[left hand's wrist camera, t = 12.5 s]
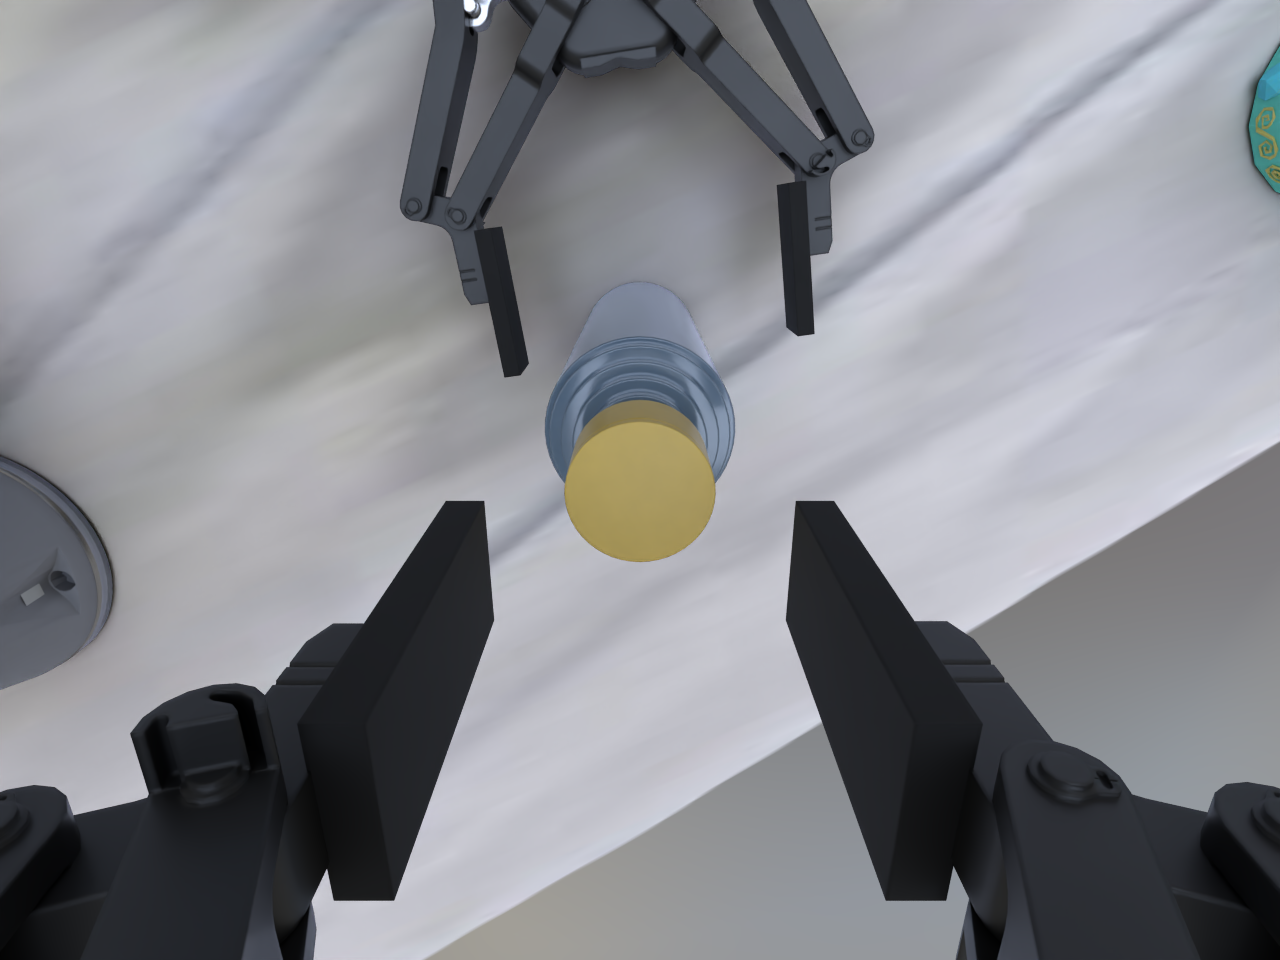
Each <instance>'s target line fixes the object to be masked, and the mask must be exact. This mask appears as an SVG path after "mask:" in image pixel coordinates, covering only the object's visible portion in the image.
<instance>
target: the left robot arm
mask: <svg viewBox="0 0 1280 960" xmlns="http://www.w3.org/2000/svg"><path fill="white" fill-rule="evenodd" d="M112 595H113V583H112V575H111V570H110V566H109V562H108V559H107V556H106V553H105V550H104V548H103V546H102V544H101V542H100V540H99V538H98V536H97V535H96V533H95V531H94V529H93V528H92V527H91V525H90V524H89V522H88V521H87V519H86V518H85V517H84V516H83V514H82V513H81V512H80V511H79V510H78V508H77V507H76V506H75V505H74V504H73V503H72V502H71V501H70V500H69V499H68V498H67V497H66V496H65V495H63V494H62V493H61V492H60V491H59V490H58V489H57V488H55V487H54V486H53V485H51V484H50V483H49V482H48V481H46V480H45V479H43V478H42V477H40V476H39V475H37V474H36V473H34V472H32V471H30V470H29V469H27V468H25V467H23V466H21V465H19V464H17V463H15V462H13V461H11V460H8V459H6V458H3V457H0V690H1V689H4V688H7V687H9V686H12V685H15V684H18V683H20V682H23V681H26V680H28V679H31V678H34V677H37V676H39V675H42V674H44V673H46V672H48V671H50V670H51V669H53V668H55V667H57V666H58V665H60V664H62V663H64V662H65V661H67V660H69V659H70V658H71V657H72V656H74V655H75V654H76V653H78V652H79V651H80V650H81V649H83V648H84V647H85V646H86V645H88V644H89V643H90V642H91V641H92V640H93V639H94V638H95V637H96V636H97V634H98V633H99V632H100V630H101V629H102V627H103V625H104V624H105V622H106V620H107V617H108V614H109V612H110V608H111V603H112ZM493 622H494V613H493V601H492V589H491V577H490V565H489V553H488V541H487V529H486V517H485V505H484V501H446V502H445V503H444V505H443V506H442V508H441V509H440V511H439V512H438V514H437V515H436V517H435V518H434V520H433V521H432V523H431V524H430V526H429V527H428V529H427V530H426V532H425V533H424V535H423V536H422V538H421V539H420V541H419V542H418V544H417V545H416V547H415V548H414V550H413V551H412V553H411V554H410V556H409V557H408V559H407V560H406V562H405V563H404V565H403V566H402V568H401V569H400V571H399V572H398V574H397V575H396V576H395V578H394V579H393V581H392V582H391V584H390V585H389V587H388V588H387V590H386V591H385V593H384V594H383V596H382V597H381V599H380V600H379V602H378V603H377V605H376V606H375V608H374V609H373V611H372V612H371V614H370V615H369V617H368V618H367V620H366V621H365V623H364V624H332V625H330V626H329V627H327V628H326V629H324V630H323V631H321V632H320V633H319V634H317V635H316V636H314V637H313V638H311V639H310V640H308V641H307V642H306V643H305V644H304V645H303V647H302V648H301V649H300V651H299V652H298V653H297V654H296V656H295V657H294V658H293V660H292V661H291V662H290V667H286V669H285V670H284V671H283V672H282V674H281V675H280V676H279V678H278V679H277V680H276V685H272V687H271V688H270V689H269V691H268V692H267V693H266V694H265V695H264V694H263V693H262V692H260V691H259V690H258V689H257V688H255V687H252V686H248V685H243V684H238V683H234V684H219V685H211V686H208V687H204V688H200V689H196V690H193V691H189V692H186V693H184V694H182V695H180V696H178V697H175V698H173V699H171V700H169V701H167V702H164V703H163V704H161V705H160V706H158V707H157V708H156V709H154V710H153V711H151V712H150V713H149V714H147V715H146V716H144V717H143V718H142V719H141V721H140V722H139V723H138V724H137V726H136V727H135V728H134V729H133V731H132V732H131V733H130V734H131V738H132V741H133V744H134V747H135V750H136V754H137V757H138V760H139V763H140V767H141V770H142V773H143V776H144V779H145V783H146V786H147V789H148V792H149V795H148V798H145V799H141V800H138V801H135V802H130V803H126V804H122V805H117V806H113V807H108V808H104V809H100V810H95V811H91V812H86V813H82V814H78V815H73V813H72V810H71V808H70V805H69V802H68V799H67V797H66V795H64V794H63V793H62V792H60V791H59V790H58V789H56V788H55V787H48V786H38V785H32V786H26V787H20V788H15V789H9V790H5V791H2V792H0V960H313V957H314V948H315V938H316V923H315V916H314V911H313V906H312V902H311V901H312V899H313V897H314V894H315V892H316V890H317V888H318V886H319V884H320V882H321V880H322V878H323V876H324V873H325V871H326V869H327V870H328V875H329V880H330V885H331V889H332V894H333V899H334V901H394V900H395V897H396V894H397V891H398V888H399V886H400V883H401V880H402V877H403V874H404V872H405V869H406V866H407V863H408V860H409V857H410V855H411V852H412V849H413V846H414V843H415V841H416V838H417V835H418V832H419V829H420V827H421V824H422V821H423V818H424V815H425V813H426V810H427V807H428V804H429V801H430V799H431V796H432V793H433V790H434V787H435V785H436V782H437V779H438V776H439V773H440V771H441V768H442V765H443V762H444V759H445V756H446V754H447V751H448V748H449V745H450V742H451V740H452V737H453V734H454V731H455V728H456V726H457V723H458V720H459V717H460V714H461V712H462V709H463V706H464V703H465V700H466V698H467V695H468V692H469V689H470V686H471V684H472V681H473V678H474V675H475V672H476V670H477V667H478V664H479V661H480V658H481V655H482V653H483V650H484V647H485V644H486V641H487V639H488V636H489V633H490V630H491V627H492V625H493ZM786 622H787V625H788V627H789V630H790V633H791V636H792V639H793V641H794V644H795V647H796V650H797V653H798V656H799V658H800V661H801V664H802V667H803V670H804V672H805V675H806V678H807V681H808V684H809V686H810V689H811V692H812V695H813V698H814V700H815V703H816V706H817V709H818V712H819V714H820V717H821V720H822V723H823V726H824V728H825V731H826V734H827V737H828V740H829V742H830V745H831V748H832V751H833V754H834V756H835V759H836V762H837V765H838V768H839V770H840V773H841V776H842V779H843V781H844V784H845V787H846V790H847V793H848V796H849V799H850V801H851V804H852V807H853V810H854V813H855V815H856V818H857V821H858V824H859V826H860V829H861V832H862V835H863V838H864V841H865V843H866V846H867V849H868V852H869V855H870V857H871V860H872V863H873V866H874V869H875V872H876V874H877V877H878V880H879V883H880V886H881V888H882V891H883V894H884V897H885V900H886V901H946V899H947V894H948V889H949V884H950V880H951V875H952V870H953V866H954V868H955V870H956V872H957V874H958V876H959V878H960V880H961V882H962V884H963V887H964V889H965V891H966V893H967V895H968V897H969V902H968V906H967V911H966V915H965V919H964V924H963V929H962V933H961V938H960V942H959V946H958V951H957V955H956V960H1280V789H1279V788H1276V787H1273V786H1267V785H1261V784H1255V783H1250V782H1243V783H1233V784H1226V785H1225V786H1223V787H1222V788H1221V789H1219V790H1218V791H1217V792H1215V794H1214V797H1213V799H1212V802H1211V805H1210V808H1209V810H1208V813H1207V812H1203V811H1199V810H1194V809H1190V808H1185V807H1181V806H1176V805H1172V804H1168V803H1163V802H1159V801H1154V800H1150V799H1145V798H1142V797H1139V796H1135V795H1132V794H1131V792H1130V791H1129V789H1128V788H1127V786H1126V785H1125V783H1124V782H1123V780H1122V779H1121V778H1120V776H1119V775H1118V774H1116V773H1115V772H1114V771H1113V770H1111V769H1110V768H1109V767H1108V766H1107V765H1105V764H1104V763H1103V762H1102V761H1100V760H1099V759H1097V758H1095V757H1093V756H1091V755H1089V754H1087V753H1085V752H1083V751H1081V750H1079V749H1077V748H1075V747H1071V746H1068V745H1065V744H1061V743H1058V742H1054V741H1053V740H1052V739H1051V737H1050V736H1049V735H1048V734H1047V732H1046V731H1045V730H1044V728H1043V727H1042V726H1041V725H1040V723H1039V722H1038V721H1037V719H1036V718H1035V717H1034V716H1033V714H1032V713H1031V712H1030V710H1029V709H1028V708H1027V707H1026V705H1025V704H1024V703H1023V702H1022V700H1021V699H1020V698H1019V696H1018V695H1017V694H1016V693H1015V691H1014V690H1013V689H1012V687H1011V686H1010V685H1009V684H1008V683H1005V681H1004V677H1003V676H1002V675H1001V673H1000V672H999V671H998V669H997V668H996V667H995V666H994V665H991V661H990V659H989V658H988V657H987V655H986V654H985V653H984V652H983V650H982V649H981V648H980V646H979V645H978V644H977V642H976V641H975V640H974V639H973V638H971V637H970V636H968V635H967V634H965V633H964V632H962V631H961V630H959V629H958V628H956V627H955V626H953V625H952V624H950V623H949V622H947V621H914V620H913V618H912V617H911V615H910V614H909V612H908V611H907V609H906V608H905V606H904V605H903V603H902V602H901V600H900V599H899V597H898V596H897V594H896V593H895V591H894V590H893V588H892V587H891V585H890V584H889V582H888V581H887V579H886V578H885V576H884V575H883V574H882V572H881V571H880V569H879V568H878V566H877V565H876V563H875V562H874V560H873V559H872V557H871V556H870V554H869V553H868V551H867V550H866V548H865V547H864V545H863V544H862V542H861V541H860V539H859V538H858V536H857V535H856V533H855V532H854V530H853V529H852V527H851V526H850V524H849V523H848V521H847V520H846V518H845V517H844V515H843V514H842V512H841V511H840V509H839V508H838V506H837V505H836V503H835V502H834V501H796V505H795V517H794V529H793V541H792V553H791V565H790V577H789V589H788V601H787V613H786Z"/></svg>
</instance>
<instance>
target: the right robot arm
mask: <svg viewBox="0 0 1280 960" xmlns="http://www.w3.org/2000/svg"><path fill="white" fill-rule="evenodd" d="M503 1H509V3H510V5H511V6H512V8H513V9H514V10H515V11H516V12H517V14H518V15H519V16H520V17H521V18H522V19H523V20H524V21H525V23H526V24H527V25H528V26H529V27H530V28H531V29H532V30H531V32H530V34H529V36H528V38H527V40H526V42H525V44H524V46H523V48H522V50H521V52H520V54H519V56H518V58H517V61H516V65H515V70H514V72H513V74H512V76H511V78H510V80H509V82H508V84H507V86H506V88H505V90H504V92H503V94H502V96H501V98H500V100H499V102H498V104H497V106H496V108H495V110H494V112H493V114H492V116H491V118H490V120H489V122H488V124H487V126H486V128H485V130H484V132H483V134H482V136H481V138H480V141H479V143H478V145H477V147H476V149H475V151H474V153H473V155H472V157H471V159H470V161H469V163H468V165H467V167H466V169H465V171H464V173H463V175H462V177H461V179H460V181H459V183H458V185H457V187H456V189H455V191H454V193H453V195H452V197H451V198H450V197H445V195H446V191H447V186H448V182H449V177H450V173H451V168H452V164H453V159H454V155H455V150H456V146H457V141H458V137H459V132H460V128H461V123H462V119H463V114H464V110H465V105H466V100H467V96H468V91H469V87H470V82H471V78H472V73H473V69H474V64H475V59H476V53H477V43H478V32H481V31H484V30H486V29H487V28H488V27H489V26H490V24H491V22H492V16H493V11H494V9H495V7H496V6H497V5H498V4H499V3H501V2H503ZM695 2H696V0H433V7H434V16H435V30H434V35H433V40H432V45H431V50H430V55H429V60H428V65H427V70H426V75H425V80H424V85H423V90H422V95H421V100H420V105H419V110H418V115H417V120H416V125H415V130H414V135H413V140H412V145H411V150H410V155H409V160H408V165H407V169H406V174H405V179H404V184H403V189H402V194H401V199H400V209H401V211H402V213H403V215H404V216H405V217H406V218H408V219H409V220H412V221H420V222H424V223H429V224H433V225H438V226H440V227H442V228H444V229H445V230H446V231H447V232H448V233H449V234H450V236H451V238H452V241H453V245H454V250H455V254H456V259H457V263H458V268H459V271H460V277H461V281H462V286H463V290H464V295H465V296H466V298H467V299H468V301H469V302H470V304H471V305H476V304H483V303H489V306H490V311H491V316H492V320H493V325H494V330H495V335H496V339H497V344H498V349H499V353H500V358H501V363H502V368H503V372H504V377H511V376H519V375H521V374H522V372H523V371H524V370H525V368H526V367H527V365H528V364H529V362H528V356H527V351H526V346H525V341H524V336H523V331H522V326H521V321H520V316H519V311H518V306H517V301H516V296H515V291H514V286H513V280H512V275H511V270H510V265H509V260H508V255H507V250H506V245H505V240H504V235H503V230H502V227H495V228H488V229H484V226H483V225H484V224H485V222H483V220H484V218H485V216H486V214H487V213H488V211H489V209H490V207H491V205H492V203H493V201H494V199H495V197H496V195H497V193H498V191H499V189H500V188H501V186H502V184H503V182H504V180H505V178H506V176H507V174H508V172H509V170H510V168H511V166H512V164H513V163H514V161H515V159H516V157H517V155H518V153H519V151H520V149H521V147H522V145H523V143H524V141H525V139H526V138H527V136H528V134H529V132H530V130H531V128H532V126H533V124H534V122H535V120H536V118H537V116H538V114H539V113H540V111H541V109H542V107H543V105H544V103H545V101H546V99H547V98H548V96H549V95H550V94H551V93H552V91H553V90H554V88H555V86H556V84H557V82H558V80H559V78H560V77H561V75H562V73H563V71H564V69H565V67H566V68H567V69H569V70H570V71H572V72H574V73H577V74H581V75H584V77H585V78H587V77H594V76H600V75H604V74H606V73H608V72H610V71H612V70H614V69H616V68H618V67H625V68H633V69H643V68H650V67H656V63H658V62H660V61H661V60H663V59H664V58H665V57H666V56H668V54H669V53H670V52H671V51H672V50H673V51H674V52H675V53H676V55H677V56H678V57H679V58H680V59H681V60H682V61H683V62H684V63H685V64H686V65H687V66H688V67H689V68H690V69H691V70H693V71H694V72H696V73H697V74H698V75H699V76H700V77H701V78H702V79H703V80H704V81H705V82H706V83H707V84H708V85H709V86H710V87H711V88H712V89H713V90H714V91H715V92H716V93H717V94H718V95H719V96H720V97H721V98H722V99H723V100H724V101H725V103H726V104H727V105H728V106H729V107H730V108H731V109H732V110H733V111H734V112H735V113H736V114H737V115H738V116H739V117H740V118H741V119H742V120H743V121H744V122H745V123H746V124H747V125H748V126H749V127H750V129H751V130H752V131H753V132H754V133H755V134H756V135H757V136H758V137H759V138H760V139H761V140H762V141H763V142H764V143H765V144H766V145H767V146H768V147H769V148H770V149H771V150H772V151H773V152H774V153H775V155H776V156H777V157H778V158H779V159H780V160H781V161H782V162H783V163H784V164H785V165H786V166H787V167H788V168H789V169H790V170H791V171H792V172H793V173H794V174H795V182H792V183H786V184H781V185H777V194H778V209H779V224H780V238H781V253H782V268H783V283H784V298H785V312H786V327H787V328H788V329H789V330H791V331H792V332H793V333H794V334H796V335H797V336H803V335H811V334H814V316H813V298H812V279H811V261H810V256H811V255H818V254H825V253H829V250H830V247H831V244H832V219H831V196H830V179H831V176H832V174H833V172H834V170H835V169H836V168H837V167H838V166H839V165H841V164H842V163H844V162H846V161H848V160H850V159H851V158H853V157H855V156H857V155H859V154H861V153H863V152H865V151H867V150H868V149H869V148H870V147H871V146H872V143H873V141H874V132H873V128H872V127H871V125H870V123H869V121H868V119H867V117H866V115H865V113H864V111H863V109H862V107H861V105H860V103H859V101H858V99H857V98H856V96H855V94H854V92H853V90H852V88H851V86H850V84H849V82H848V80H847V78H846V76H845V74H844V72H843V70H842V68H841V67H840V65H839V63H838V61H837V59H836V57H835V55H834V53H833V51H832V49H831V47H830V45H829V43H828V41H827V39H826V37H825V36H824V34H823V32H822V30H821V28H820V26H819V24H818V22H817V20H816V18H815V16H814V14H813V12H812V10H811V8H810V6H809V5H808V3H807V1H806V0H753V2H754V5H755V7H756V9H757V12H758V14H759V16H760V18H761V19H762V21H763V23H764V25H765V27H766V29H767V31H768V32H769V34H770V36H771V38H772V40H773V42H774V44H775V45H776V47H777V49H778V51H779V53H780V55H781V57H782V58H783V60H784V62H785V64H786V66H787V68H788V70H789V71H790V73H791V75H792V77H793V79H794V81H795V83H796V84H797V86H798V88H799V90H800V92H801V94H802V95H803V97H804V99H805V101H806V103H807V105H808V107H809V108H810V110H811V112H812V114H813V116H814V118H815V120H816V121H817V123H818V125H819V127H820V129H821V131H822V133H823V134H824V136H825V139H823V140H821V141H820V140H819V139H818V138H817V137H816V136H815V135H814V134H813V133H812V132H811V131H810V130H809V129H808V128H807V127H806V125H805V124H804V123H803V122H802V121H801V120H800V119H799V118H798V117H797V116H796V115H795V114H794V113H793V112H792V110H791V109H790V108H789V107H788V106H787V105H786V104H785V103H784V102H783V101H782V100H781V99H780V98H779V97H778V96H777V94H776V93H775V92H774V91H773V90H772V89H771V88H770V87H769V86H768V85H767V84H766V83H765V82H764V81H763V79H762V78H761V77H760V76H759V75H758V74H757V73H756V72H755V71H754V70H753V69H752V68H751V67H750V66H749V65H748V63H747V62H746V61H745V60H744V59H743V58H742V57H741V56H740V55H739V54H738V53H737V52H736V51H735V50H734V48H733V47H732V46H731V45H730V44H729V43H728V42H727V41H726V40H725V39H724V38H723V36H722V35H721V33H720V31H719V29H718V28H717V26H716V25H715V24H714V23H713V22H712V21H711V19H710V18H709V17H708V16H707V15H706V14H705V13H704V12H703V11H702V10H701V9H700V8H699V7H698V6H697V4H696V3H695Z"/></svg>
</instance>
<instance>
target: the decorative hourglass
mask: <svg viewBox="0 0 1280 960" xmlns="http://www.w3.org/2000/svg"><path fill="white" fill-rule="evenodd" d="M1249 131H1250V137H1251V143H1252V150H1253V156H1254V162H1255V165H1256V167H1257V168H1258V169H1259V171H1260V172H1261V173H1262V174H1263V176H1264V177H1265V178H1266V180H1267V181H1268V182H1269V184H1270V185H1271V186H1272V188H1273V189H1274V190H1275V191H1276V192H1278V193H1280V46H1279V48H1278V50H1277V51H1276V53H1275V55H1274V57H1273V58H1272V60H1271V62H1270V64H1269V65H1268V67H1267V69H1266V71H1265V72H1264V74H1263V76H1262V78H1261V79H1260V81H1259V83H1258V86H1257V91H1256V96H1255V100H1254V105H1253V109H1252V114H1251V119H1250V123H1249Z"/></svg>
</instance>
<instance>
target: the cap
mask: <svg viewBox="0 0 1280 960" xmlns="http://www.w3.org/2000/svg"><path fill="white" fill-rule="evenodd" d="M715 494H716V493H715V481H714V475H713V472H712V468H711V464H710V461H709V457H708V454H707V450H706V447H705V444H704V441H703V439H702V437H701V435H700V433H699V431H698V430H697V428H696V427H695V426H694V425H693V423H692V422H691V421H690V420H689V419H688V418H687V417H685V416H684V415H683V414H682V413H680V412H679V411H677V410H676V409H674V408H672V407H670V406H668V405H665V404H662V403H659V402H654V401H649V400H631V401H626V402H621V403H618V404H615V405H612V406H610V407H608V408H606V409H604V410H603V411H601V412H600V413H598V414H597V415H596V416H595V417H593V418H592V419H591V420H590V421H589V422H588V423H587V425H586V426H585V427H584V428H583V430H582V431H581V433H580V435H579V437H578V439H577V441H576V444H575V447H574V450H573V454H572V457H571V461H570V464H569V468H568V472H567V475H566V481H565V493H564V495H565V503H566V507H567V511H568V514H569V517H570V519H571V521H572V523H573V525H574V526H575V528H576V530H577V531H578V532H579V533H580V535H581V536H582V537H583V538H584V539H585V540H586V541H587V542H588V543H589V544H590V545H592V546H593V547H594V548H596V549H597V550H599V551H601V552H602V553H604V554H607V555H609V556H611V557H614V558H617V559H621V560H626V561H633V562H647V561H654V560H659V559H663V558H666V557H669V556H671V555H673V554H676V553H678V552H679V551H681V550H683V549H684V548H686V547H687V546H688V545H690V544H691V543H692V542H693V541H694V540H695V539H696V538H697V537H698V536H699V535H700V533H701V532H702V531H703V530H704V528H705V526H706V525H707V523H708V521H709V519H710V517H711V514H712V511H713V507H714V503H715Z"/></svg>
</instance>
